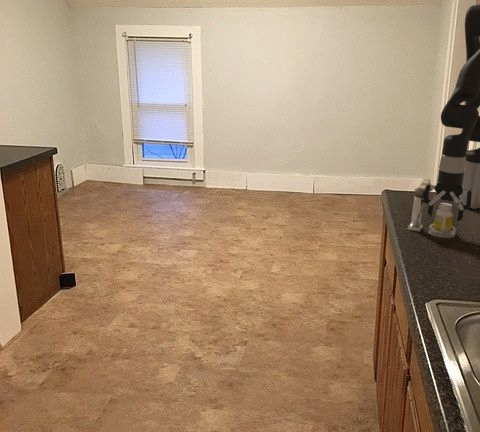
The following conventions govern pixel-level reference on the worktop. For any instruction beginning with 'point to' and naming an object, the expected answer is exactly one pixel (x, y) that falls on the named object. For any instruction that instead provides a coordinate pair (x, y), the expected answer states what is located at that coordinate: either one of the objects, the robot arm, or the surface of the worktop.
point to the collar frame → (417, 227)
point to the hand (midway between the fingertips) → (444, 218)
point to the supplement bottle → (443, 217)
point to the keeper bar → (421, 188)
